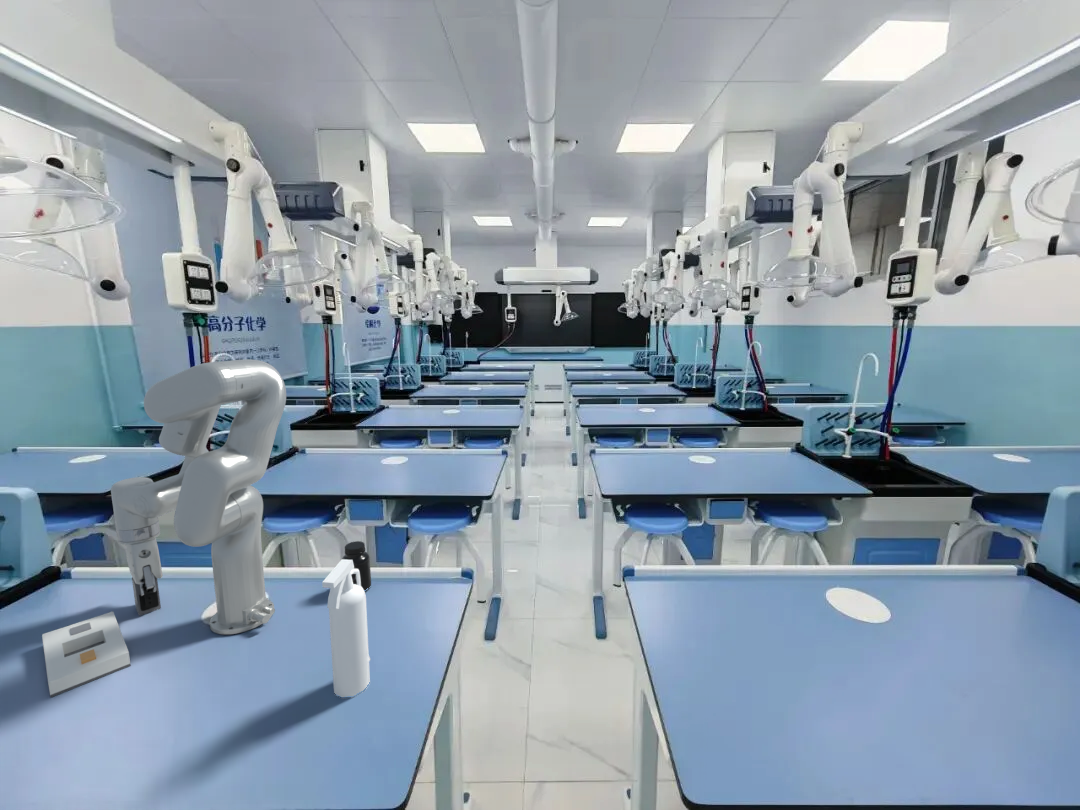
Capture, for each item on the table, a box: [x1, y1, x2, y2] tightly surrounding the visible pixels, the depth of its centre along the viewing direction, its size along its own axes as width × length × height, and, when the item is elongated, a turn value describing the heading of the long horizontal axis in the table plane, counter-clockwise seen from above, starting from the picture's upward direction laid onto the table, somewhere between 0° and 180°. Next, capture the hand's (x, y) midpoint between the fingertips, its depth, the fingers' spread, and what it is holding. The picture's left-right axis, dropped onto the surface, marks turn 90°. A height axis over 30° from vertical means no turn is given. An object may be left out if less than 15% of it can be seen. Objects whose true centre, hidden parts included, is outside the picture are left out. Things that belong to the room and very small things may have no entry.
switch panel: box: [41, 611, 131, 698], centre depth 95 cm, size 20×11×4 cm, turn 48°
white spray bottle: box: [321, 558, 371, 697], centre depth 87 cm, size 7×12×25 cm, turn 173°
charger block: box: [131, 575, 162, 617], centre depth 111 cm, size 4×4×8 cm
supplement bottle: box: [341, 540, 372, 590], centre depth 120 cm, size 7×7×12 cm
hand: (147, 603), depth 111 cm, fingers closed on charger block, 4 cm apart
